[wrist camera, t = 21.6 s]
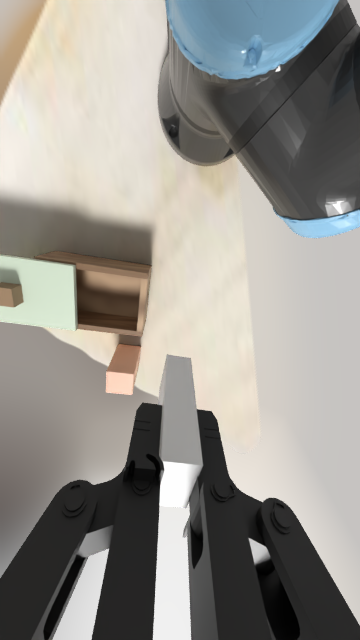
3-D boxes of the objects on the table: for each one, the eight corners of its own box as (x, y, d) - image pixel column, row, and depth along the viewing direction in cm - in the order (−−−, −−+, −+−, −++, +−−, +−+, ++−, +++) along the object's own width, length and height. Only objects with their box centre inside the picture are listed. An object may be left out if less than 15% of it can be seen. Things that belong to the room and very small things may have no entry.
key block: (118, 343, 50) (106, 371, 41) (140, 346, 51) (133, 374, 42) (117, 362, 52) (105, 392, 43) (138, 364, 53) (131, 394, 44)
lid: (-42, 247, 34) (-64, 250, 31) (75, 265, 36) (66, 269, 33) (-26, 315, 39) (-44, 324, 36) (77, 328, 40) (69, 337, 37)
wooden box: (55, 250, 42) (34, 256, 35) (151, 265, 43) (147, 273, 37) (59, 310, 46) (41, 324, 40) (145, 321, 48) (141, 336, 42)
